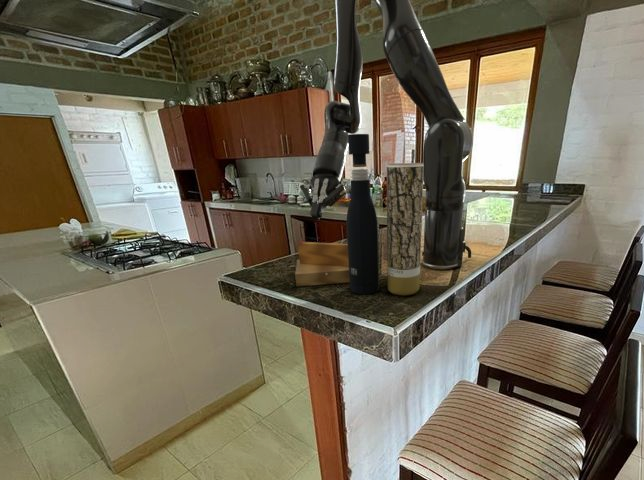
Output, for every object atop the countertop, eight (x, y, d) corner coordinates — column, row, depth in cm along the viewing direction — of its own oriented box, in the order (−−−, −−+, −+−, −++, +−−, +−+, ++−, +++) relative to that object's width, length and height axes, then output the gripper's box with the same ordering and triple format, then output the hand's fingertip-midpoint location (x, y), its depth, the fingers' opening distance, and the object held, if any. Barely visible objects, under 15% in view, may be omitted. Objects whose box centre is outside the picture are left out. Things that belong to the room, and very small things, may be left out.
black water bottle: (380, 284, 76) (377, 134, 63) (377, 294, 70) (374, 132, 57) (352, 283, 77) (344, 136, 64) (347, 294, 71) (337, 134, 58)
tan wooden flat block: (351, 264, 80) (350, 242, 78) (349, 266, 79) (348, 244, 76) (302, 261, 83) (300, 240, 81) (299, 263, 82) (297, 242, 80)
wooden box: (357, 263, 91) (356, 252, 90) (365, 285, 76) (365, 271, 74) (293, 268, 89) (291, 256, 88) (288, 291, 74) (286, 277, 72)
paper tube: (410, 299, 68) (414, 163, 57) (381, 293, 71) (379, 164, 60) (424, 288, 73) (429, 162, 62) (396, 283, 76) (397, 163, 65)
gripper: (302, 153, 88) (285, 208, 83) (349, 152, 85) (334, 209, 79) (312, 173, 95) (297, 225, 90) (356, 173, 92) (343, 227, 86)
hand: (315, 217), depth 85 cm, fingers closed
